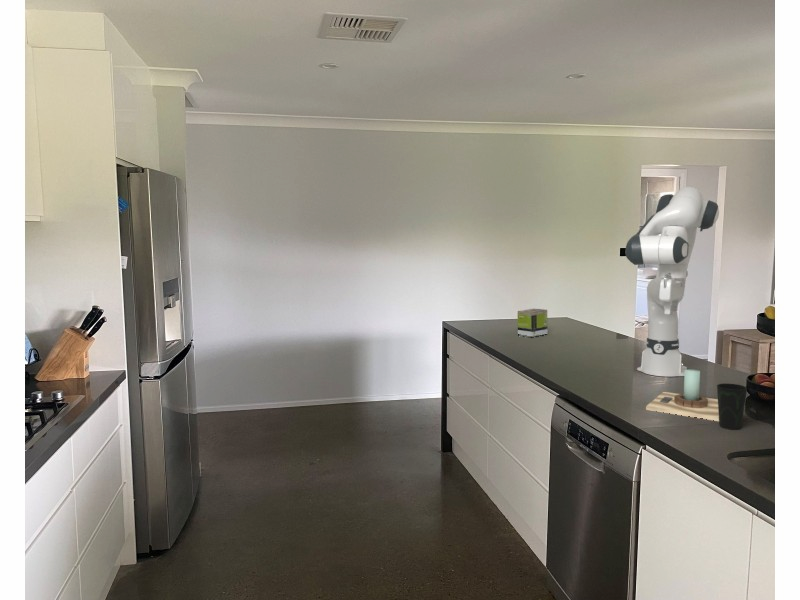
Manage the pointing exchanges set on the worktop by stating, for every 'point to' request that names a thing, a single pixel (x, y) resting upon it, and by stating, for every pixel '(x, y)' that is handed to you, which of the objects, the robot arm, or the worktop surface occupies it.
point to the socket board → (685, 406)
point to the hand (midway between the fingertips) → (671, 312)
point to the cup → (731, 405)
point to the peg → (691, 384)
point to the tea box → (532, 322)
